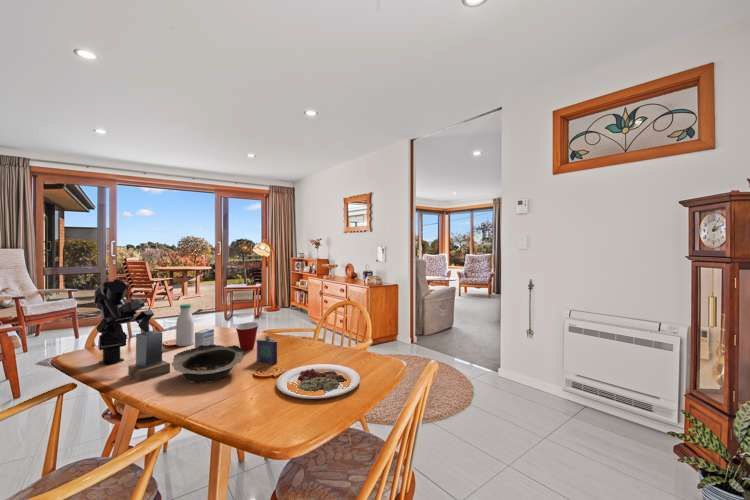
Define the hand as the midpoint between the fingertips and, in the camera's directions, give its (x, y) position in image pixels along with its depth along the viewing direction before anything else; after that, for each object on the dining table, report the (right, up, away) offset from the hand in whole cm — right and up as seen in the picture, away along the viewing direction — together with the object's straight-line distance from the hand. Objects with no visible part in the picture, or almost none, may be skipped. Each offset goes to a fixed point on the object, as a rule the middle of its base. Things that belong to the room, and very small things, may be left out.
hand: (137, 337), depth 127 cm
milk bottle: (-2, -13, +35) cm, 38 cm away
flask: (+47, -14, +12) cm, 50 cm away
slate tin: (+6, -10, -2) cm, 12 cm away
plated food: (+73, -15, -8) cm, 75 cm away
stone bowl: (+30, -14, -3) cm, 33 cm away
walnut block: (+6, -14, -2) cm, 15 cm away
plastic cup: (+31, -14, +29) cm, 45 cm away
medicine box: (+11, -14, +30) cm, 34 cm away
